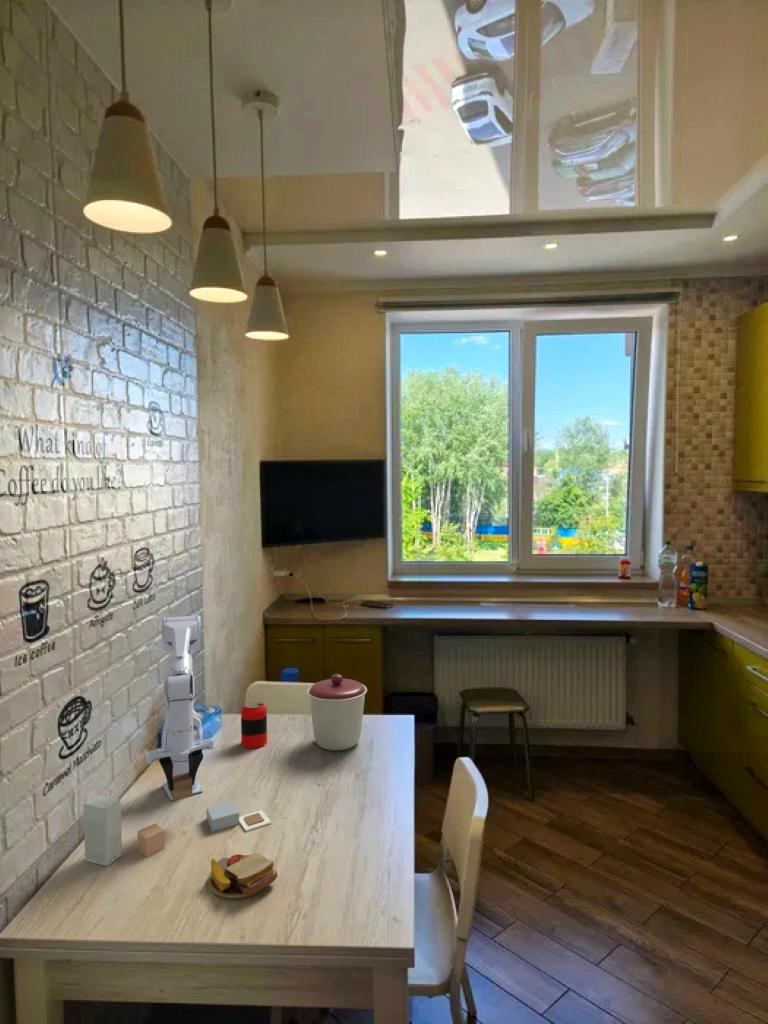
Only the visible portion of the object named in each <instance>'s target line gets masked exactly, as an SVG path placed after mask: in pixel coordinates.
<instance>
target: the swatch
mask: <svg viewBox="0 0 768 1024" xmlns="http://www.w3.org/2000/svg"><path fill="white" fill-rule="evenodd" d="M271 824H272V821H271V820H270V818H269V817H268V816H267V815H266V813H265V812H264V811H263V810H262V809H261V810H257V811H254V812H251V813H248V814H245V815H242V816H239V825H240V826H241V827H242V829H243V831H244V832H249V831H250V832H251V831H252V830H256V829H259V828H262V827H266V826H268V825H271Z"/></svg>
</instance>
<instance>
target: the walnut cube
mask: <svg viewBox="0 0 768 1024" xmlns="http://www.w3.org/2000/svg"><path fill="white" fill-rule="evenodd" d="M170 794H171V796H172V798H173V800H172V801H174V802H177V801H180V800H184V799H187V798H191V797H192V798H193V794H192V778H191V776H190V775H189V773H188V772H186V773H182V774H178V775H174V776H173V790H172V791H170Z"/></svg>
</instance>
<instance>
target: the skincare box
mask: <svg viewBox="0 0 768 1024" xmlns="http://www.w3.org/2000/svg"><path fill="white" fill-rule="evenodd" d="M83 803H84V804H83V825H84V826H83V827H84V829H83V830H84V833H83V834H84V860H85V862H89V863H92V864H97V865H102V866H105V867H107V866H108V867H109V866H110V865H111V864H112V863H114V862H115V861H116V860H117V859H118V858H120V857H121V856H122V855H123V844H122V842H123V841H122V807H121V806H122V804H121V803H122V801H121V798H119V797H118V798H117V797H111V796H106V795H101V794H98V795H96V796H95V797H93V798H91V799H89V800H88V801H86V802H83Z"/></svg>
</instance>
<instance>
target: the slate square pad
mask: <svg viewBox="0 0 768 1024" xmlns="http://www.w3.org/2000/svg"><path fill="white" fill-rule="evenodd" d="M205 812H206V821H207V823H208V825H209V828H210V830H211V832H214V833H215V832H216V831H217V832H218V831H221V830H223V829H228V828H231V827H235V826H238V825H240V823H239V817H240V811H239V809H238V808H237V807H236V805H235V803H234V802H233V800H230V801H227V802H226V801H225V802H222V803H219V804H213V805H211V806H207V807H206V811H205Z"/></svg>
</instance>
